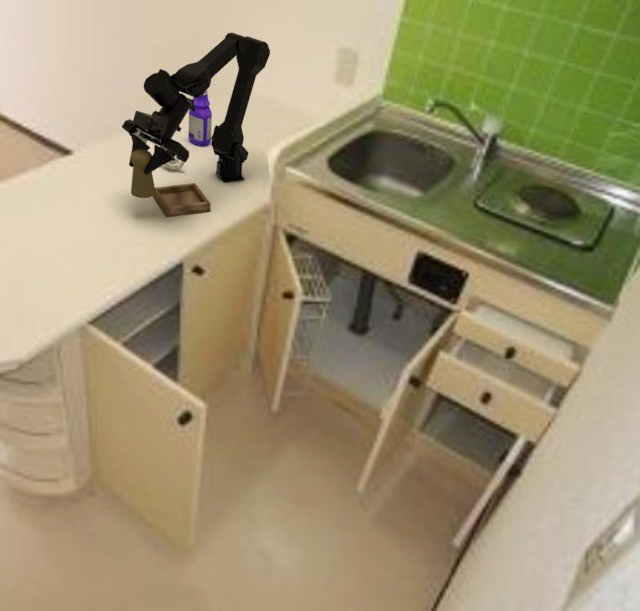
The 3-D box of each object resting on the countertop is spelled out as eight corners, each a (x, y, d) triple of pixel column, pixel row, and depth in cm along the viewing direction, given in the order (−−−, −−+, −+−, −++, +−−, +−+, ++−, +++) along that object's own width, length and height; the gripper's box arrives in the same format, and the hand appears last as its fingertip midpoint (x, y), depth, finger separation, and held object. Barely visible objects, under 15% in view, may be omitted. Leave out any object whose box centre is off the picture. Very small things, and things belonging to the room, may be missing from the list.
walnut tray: (194, 191, 179) (194, 183, 178) (210, 211, 171) (210, 203, 170) (152, 196, 174) (152, 188, 172) (166, 217, 166) (166, 209, 164)
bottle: (214, 143, 207) (216, 90, 196) (202, 148, 203) (203, 94, 192) (197, 136, 209) (197, 83, 199) (185, 141, 205) (185, 87, 195)
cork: (149, 200, 159) (148, 159, 153) (126, 195, 160) (124, 154, 153) (159, 189, 164) (158, 149, 158) (137, 185, 165) (134, 144, 158)
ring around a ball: (156, 168, 187) (156, 143, 183) (165, 161, 192) (165, 136, 187) (181, 175, 186) (181, 149, 181) (190, 168, 191) (190, 142, 186)
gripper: (125, 86, 155) (91, 141, 154) (180, 110, 147) (145, 168, 146) (151, 111, 165) (119, 162, 164) (204, 134, 157) (171, 189, 156)
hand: (137, 169), depth 157 cm, fingers closed on cork, 5 cm apart
